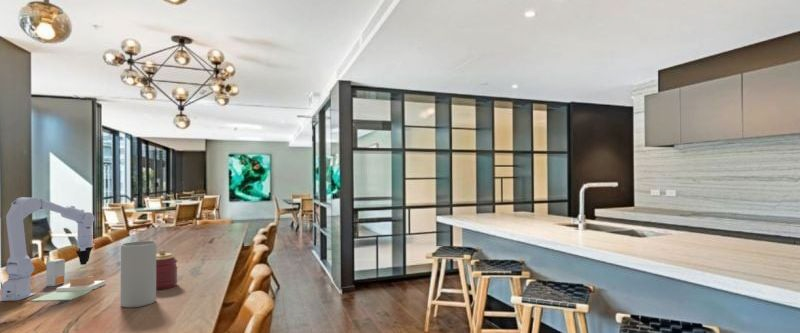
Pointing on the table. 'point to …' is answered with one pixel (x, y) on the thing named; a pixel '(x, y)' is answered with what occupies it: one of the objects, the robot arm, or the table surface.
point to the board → (81, 287)
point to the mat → (61, 296)
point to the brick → (82, 280)
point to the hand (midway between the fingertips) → (84, 263)
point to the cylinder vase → (138, 273)
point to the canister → (166, 270)
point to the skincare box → (55, 272)
